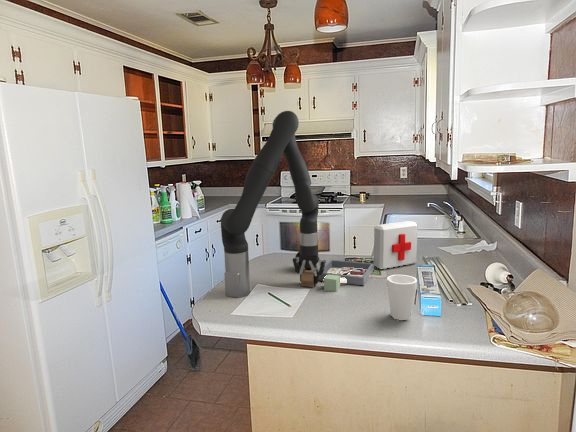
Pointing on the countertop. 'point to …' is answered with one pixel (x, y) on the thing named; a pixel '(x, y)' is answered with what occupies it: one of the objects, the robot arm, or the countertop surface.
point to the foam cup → (401, 295)
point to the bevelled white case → (395, 244)
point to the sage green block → (332, 283)
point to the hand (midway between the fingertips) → (309, 283)
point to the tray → (350, 279)
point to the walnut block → (307, 278)
